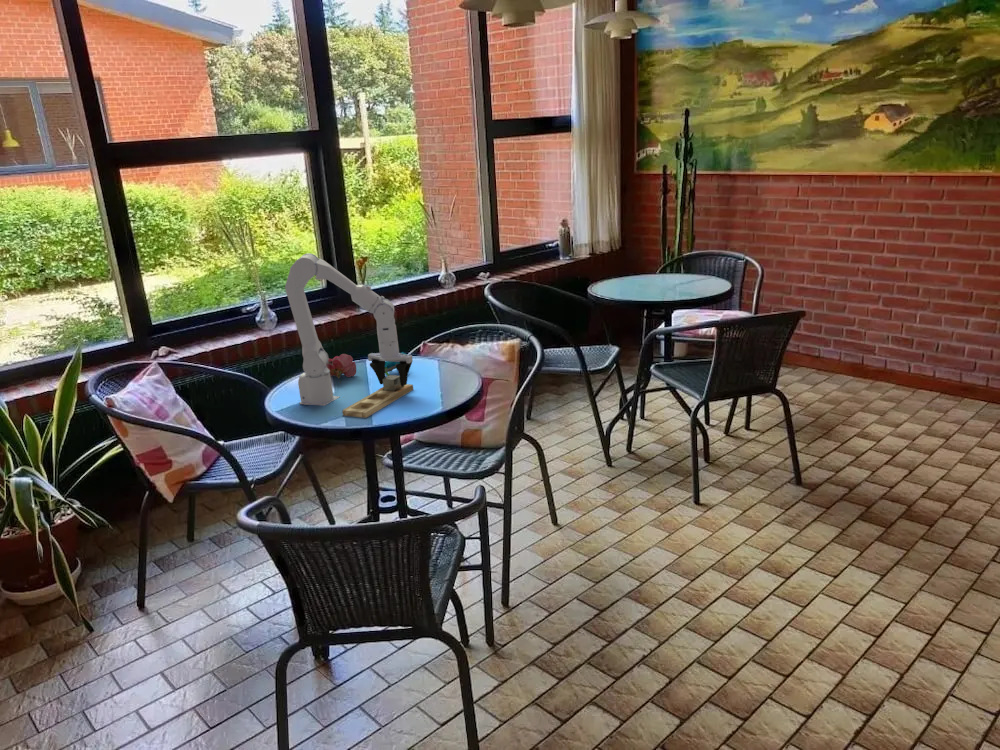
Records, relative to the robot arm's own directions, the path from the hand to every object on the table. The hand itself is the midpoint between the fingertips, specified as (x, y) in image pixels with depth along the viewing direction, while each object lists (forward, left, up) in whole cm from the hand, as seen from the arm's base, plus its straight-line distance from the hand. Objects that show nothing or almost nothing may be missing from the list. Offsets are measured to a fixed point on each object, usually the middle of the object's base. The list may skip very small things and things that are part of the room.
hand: (393, 384), depth 225 cm
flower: (-29, +10, -4) cm, 31 cm away
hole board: (0, -8, -3) cm, 9 cm away
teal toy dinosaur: (-12, +19, -4) cm, 23 cm away
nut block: (0, 0, -3) cm, 3 cm away
